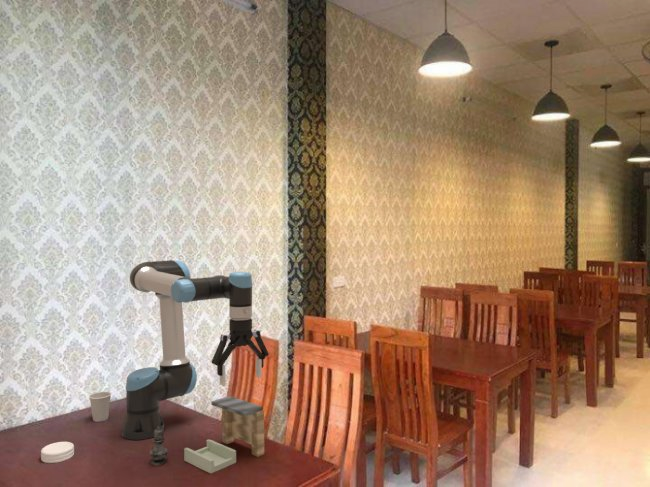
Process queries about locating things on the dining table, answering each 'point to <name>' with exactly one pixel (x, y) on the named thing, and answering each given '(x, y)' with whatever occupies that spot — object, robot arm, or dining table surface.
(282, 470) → the dining table surface
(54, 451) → the coaster
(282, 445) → the dining table surface
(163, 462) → the dark grey tall piece
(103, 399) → the dixie cup
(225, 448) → the pale green tray
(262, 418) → the checkered stool block
